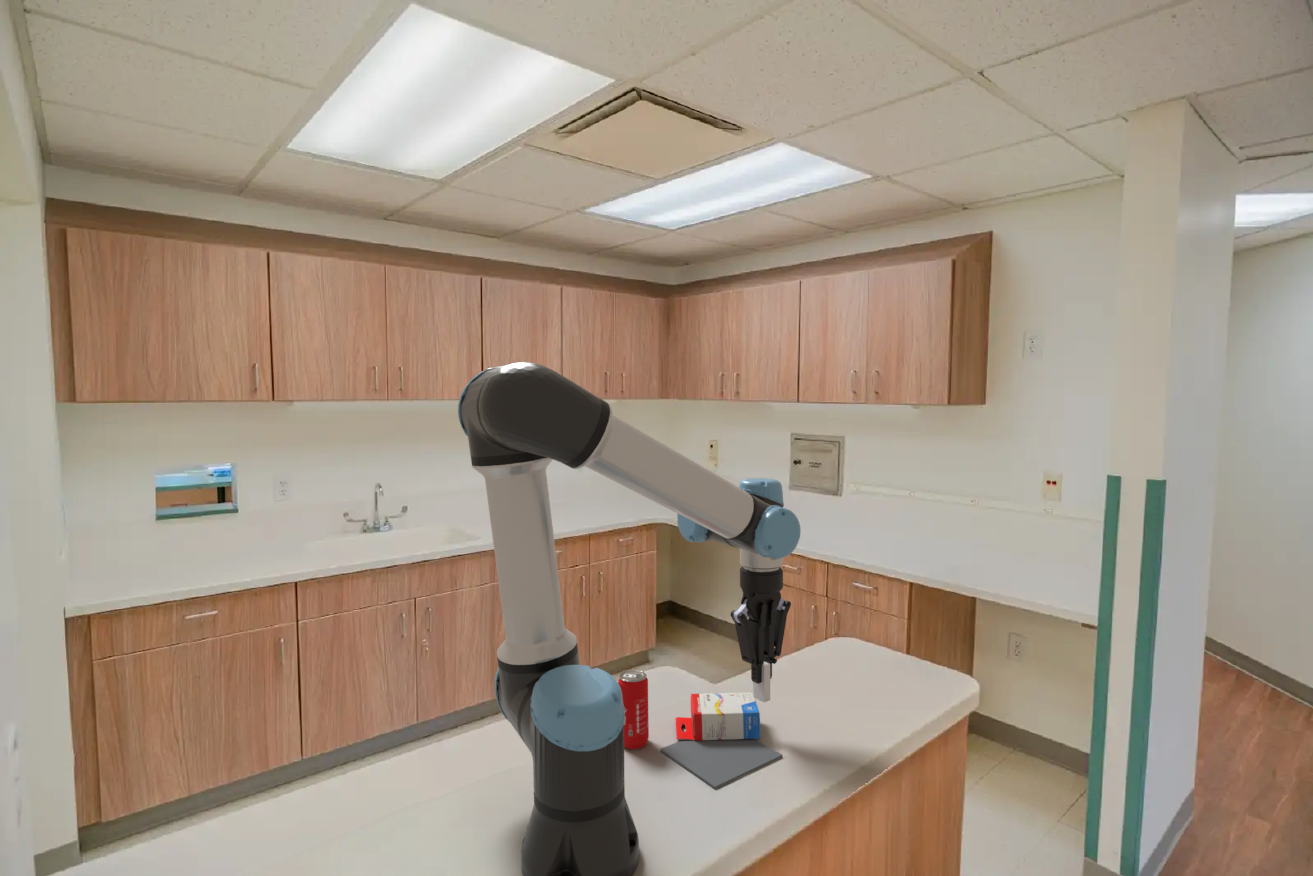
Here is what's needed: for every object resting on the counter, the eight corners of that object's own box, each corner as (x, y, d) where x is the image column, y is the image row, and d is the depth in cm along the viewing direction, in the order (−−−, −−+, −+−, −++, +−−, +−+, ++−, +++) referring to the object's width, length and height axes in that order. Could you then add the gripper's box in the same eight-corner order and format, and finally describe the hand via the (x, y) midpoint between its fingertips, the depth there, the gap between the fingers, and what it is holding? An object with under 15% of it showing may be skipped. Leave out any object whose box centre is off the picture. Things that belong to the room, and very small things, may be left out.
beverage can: (645, 752, 110) (644, 682, 109) (615, 749, 111) (614, 680, 111) (651, 737, 115) (650, 670, 115) (623, 734, 116) (622, 668, 116)
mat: (714, 789, 99) (714, 786, 99) (660, 751, 110) (660, 749, 110) (782, 757, 108) (782, 754, 108) (725, 725, 119) (725, 722, 119)
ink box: (760, 712, 112) (676, 714, 112) (760, 740, 113) (676, 742, 112) (752, 691, 121) (674, 693, 121) (753, 717, 121) (675, 719, 121)
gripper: (749, 577, 107) (750, 717, 108) (802, 565, 114) (802, 696, 115) (719, 568, 113) (720, 701, 114) (771, 557, 120) (771, 682, 121)
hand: (761, 698), depth 115 cm, fingers closed
